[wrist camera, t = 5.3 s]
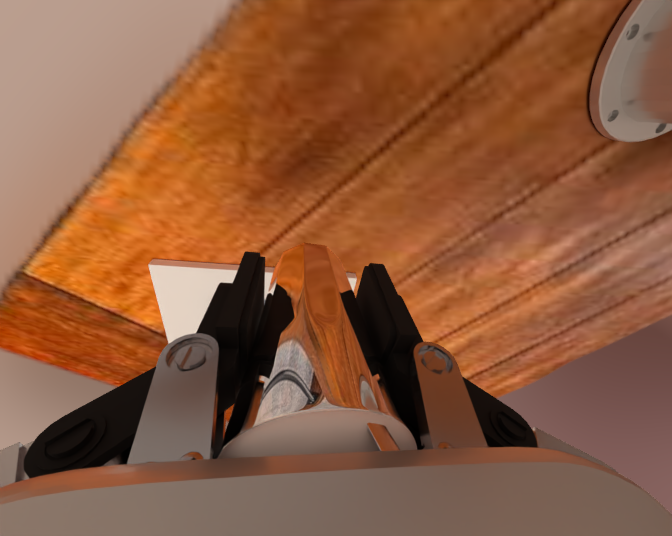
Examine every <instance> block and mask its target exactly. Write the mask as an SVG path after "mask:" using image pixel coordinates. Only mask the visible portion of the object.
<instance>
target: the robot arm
mask: <svg viewBox="0 0 672 536" xmlns="http://www.w3.org/2000/svg"><path fill="white" fill-rule="evenodd" d="M590 113H591V118H592V121H593V123H594V125H595V127H596V129H597V130H598V131H599V132H600V133H601V134H602V135H603V136H604V137H607V138H609V139H612V140H616V141H624V142H640V141H644V140H648V139H652V138H655V137H657V136H660V135H662V134H664V133H667V132H669V131H670V130H672V0H632V2H631V3H630V4H629V6H628V7H627V8H626V10H625V11H624V13H623V14H622V15H621V17H620V19H619V20H618V22H617V24H616V25H615V27H614V29H613V31H612V32H611V34H610V36H609V37H608V39H607V42H606V44H605V46H604V48H603V50H602V53H601V55H600V57H599V60H598V63H597V66H596V69H595V72H594V75H593V79H592V84H591V90H590ZM264 290H265V257H260V253H256V252H245V253H244V256H243V258H242V261H241V263H240V266H239V268H238V271H237V273H236V276H235V278H234V281H233V283H223V282H221V283H219V285H218V287H217V289H216V291H215V293H214V295H213V298H212V300H211V302H210V304H209V306H208V308H207V310H206V313H205V315H204V317H203V319H202V321H201V323H200V325H199V328H198V330H197V332H196V333H193V334H188V335H184V336H182V337H179V338H177V339H175V340H174V341H172V342H171V343H169V344H168V345H167V346H166V347H165V348H164V349H163V351H162V353H161V355H160V356H159V359H158V363H157V366H156V367H154V368H152V369H151V370H149V371H147V372H145V373H143V374H141V375H139V376H138V377H136V378H134V379H132V380H130V381H128V382H126V383H125V384H123V385H121V386H119V387H117V388H115V389H113V390H112V391H110V392H108V393H106V394H104V395H102V396H101V397H99V398H97V399H95V400H93V401H91V402H89V403H87V404H86V405H84V406H82V407H80V408H78V409H76V410H74V411H73V412H71V413H69V414H67V415H65V416H64V417H62V418H60V419H59V420H57V421H56V422H54V423H53V424H51V425H50V426H49V427H48V428H46V429H45V430H44V431H43V432H42V433H41V434H40V435H39V436H38V437H37V438H36V439H35V441H33V442H31V443H28V444H26V445H24V446H23V445H22V444H21V443H20V442H19V443H17V444H14V445H12V446H9V447H7V448H5V449H3V450H0V536H672V514H671V513H670V512H669V511H668V510H667V509H666V508H665V507H664V506H663V505H661V504H660V503H659V502H658V501H657V500H656V499H655V498H654V497H653V496H651V495H650V494H649V493H648V492H647V491H645V490H644V489H643V488H641V487H640V486H639V485H637V484H636V483H634V482H633V481H631V480H630V479H628V478H626V477H624V476H623V475H621V474H619V473H618V472H616V471H615V470H614V469H613V468H611V467H610V466H608V465H607V464H605V463H604V462H602V461H600V460H598V459H596V458H594V457H592V456H590V455H589V454H587V453H585V452H583V451H581V450H579V449H577V448H575V447H573V446H571V445H569V444H567V443H565V442H563V441H561V440H559V439H557V438H555V437H554V436H552V435H550V434H547V433H546V432H544V431H542V430H540V429H538V428H536V427H534V428H533V429H531V427H530V426H529V425H528V423H527V422H526V421H525V420H524V419H523V418H522V417H521V416H520V415H519V414H518V413H517V412H515V411H514V410H513V409H511V408H510V407H508V406H507V405H505V404H503V403H502V402H501V401H499V400H497V399H496V398H494V397H493V396H491V395H490V394H488V393H487V392H485V391H484V390H482V389H481V388H479V387H478V386H476V385H474V384H473V383H471V382H470V381H468V380H467V379H465V378H464V377H462V375H461V372H460V370H459V367H458V364H457V362H456V360H455V358H454V357H453V356H452V355H451V353H450V352H449V351H447V350H446V349H445V348H443V347H442V346H440V345H438V344H435V343H432V342H423V340H422V338H421V336H420V334H419V332H418V330H417V327H416V325H415V323H414V321H413V319H412V317H411V315H410V313H409V311H408V309H407V307H406V305H405V303H404V301H403V299H402V297H401V296H400V295H398V294H397V292H396V289H395V287H394V285H393V283H392V281H391V279H390V277H389V275H388V273H387V270H386V268H385V266H384V265H383V264H374V263H370V264H369V266H365V267H364V270H363V274H362V278H361V281H360V285H359V289H358V292H357V296H356V301H357V303H358V306H359V308H360V311H361V313H362V316H363V319H364V321H365V324H366V326H367V329H368V332H369V334H370V337H371V339H372V342H373V344H374V347H375V349H376V351H377V354H378V356H379V359H380V361H381V363H382V366H383V368H384V370H385V373H386V375H387V377H388V380H389V382H390V384H391V387H392V389H393V391H394V394H395V396H396V398H397V401H398V403H399V405H400V408H401V410H402V412H403V415H404V417H405V419H406V422H407V424H408V426H409V429H410V431H411V434H412V435H413V437H414V439H415V442H416V445H417V450H398V451H374V452H351V453H329V454H306V455H284V456H264V457H243V458H223V459H217V458H218V455H219V451H220V448H221V445H222V442H223V438H224V435H225V424H226V410H227V409H228V408H229V407H231V406H232V405H233V404H234V403H235V401H236V398H237V394H238V391H239V388H240V385H241V382H242V379H243V376H244V372H245V369H246V366H247V363H248V360H249V357H250V354H251V350H252V347H253V343H254V339H255V336H256V332H257V329H258V325H259V322H260V318H261V314H262V311H263V307H264Z"/></svg>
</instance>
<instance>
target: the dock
mask: <svg viewBox="0 0 672 536" xmlns="http://www.w3.org/2000/svg"><path fill="white" fill-rule="evenodd" d="M148 266H149V270H150V274H151V278H152V281H153V285H154V289H155V293H156V297H157V300H158V304H159V308H160V312H161V316H162V320H163V323H164V327H165V331H166V335H167V339H168V343H171V342H172V341H174V340H175V339H177V338H179V337H182V336H184V335H188V334H193V333H196V332H197V330H198V328H199V325H200V323H201V321H202V319H203V317H204V315H205V313H206V310H207V308H208V306H209V304H210V302H211V300H212V298H213V295H214V293H215V291H216V289H217V287H218V285H219V283H221V282H223V283H233V281H234V278H235V276H236V273H237V271H238V268H239V266H240V265H231V264H217V263H203V262H189V261H175V260H160V259H153V260H152V261H151V262H150V263H149V264H148ZM274 269H275V268H274V267H265V290H264V304H265V300H266V297H267V293H268V289H269V286H270V282H271V279H272V275H273V272H274ZM346 275H347V277H348V280H349V283H350V285H351V288H352V290H353V292H354V288H355V284H356V280H357V277H356V274H355V273H346Z"/></svg>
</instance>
